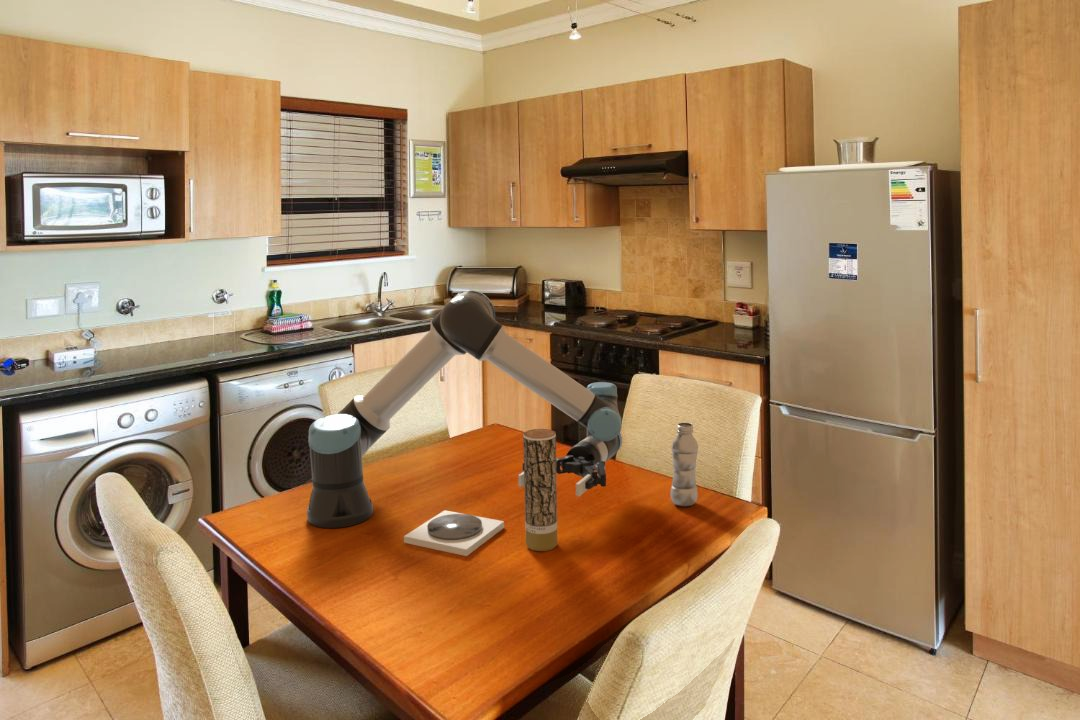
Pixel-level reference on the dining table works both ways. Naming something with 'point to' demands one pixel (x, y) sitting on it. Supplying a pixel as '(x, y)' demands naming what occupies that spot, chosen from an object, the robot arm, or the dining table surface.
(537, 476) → the paper tube
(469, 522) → the domed button base
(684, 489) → the plastic bottle
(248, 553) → the dining table surface
